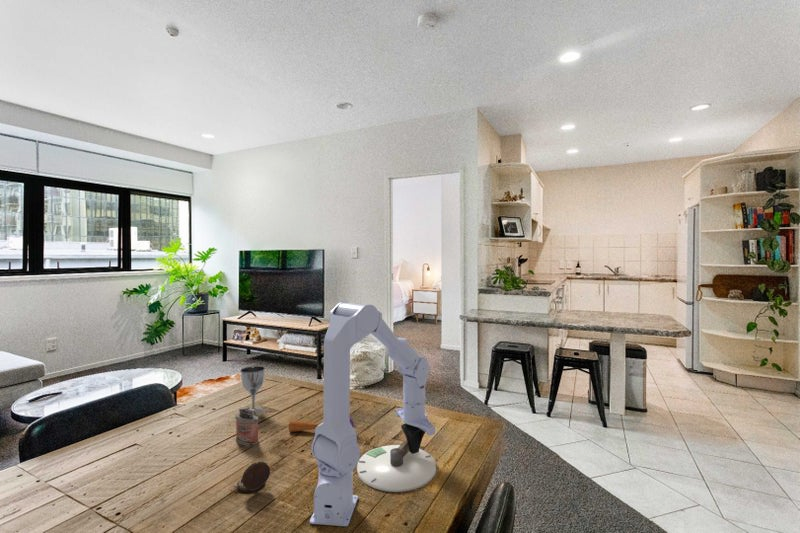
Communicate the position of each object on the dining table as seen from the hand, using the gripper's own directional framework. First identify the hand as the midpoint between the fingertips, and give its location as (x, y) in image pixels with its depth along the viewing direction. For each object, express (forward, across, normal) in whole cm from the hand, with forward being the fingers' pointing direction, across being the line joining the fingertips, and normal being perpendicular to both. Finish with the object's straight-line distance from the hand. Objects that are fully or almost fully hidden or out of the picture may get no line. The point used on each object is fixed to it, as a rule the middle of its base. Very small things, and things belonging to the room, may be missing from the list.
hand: (414, 451), depth 101 cm
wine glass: (+3, +58, +26) cm, 64 cm away
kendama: (+3, +29, +13) cm, 32 cm away
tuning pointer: (+1, +2, +2) cm, 3 cm away
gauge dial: (+2, 0, +6) cm, 6 cm away
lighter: (+3, +37, +33) cm, 50 cm away
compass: (+3, +13, +39) cm, 41 cm away
